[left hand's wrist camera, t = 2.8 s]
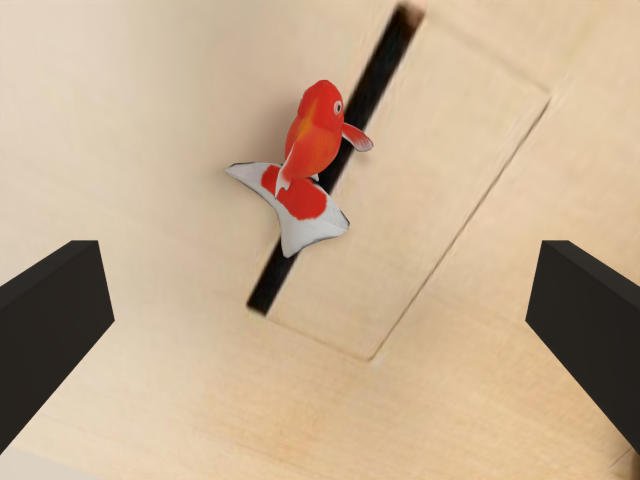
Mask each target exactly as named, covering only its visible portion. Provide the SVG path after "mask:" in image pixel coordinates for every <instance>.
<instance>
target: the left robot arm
mask: <svg viewBox="0 0 640 480" xmlns="http://www.w3.org/2000/svg"><path fill="white" fill-rule="evenodd" d="M114 321H115V319H114V315H113V310H112V305H111V301H110V296H109V291H108V286H107V282H106V277H105V272H104V268H103V263H102V258H101V253H100V249H99V244H98V240H72V241H70V242H69V243H67V244H66V245H64V246H62V247H61V248H59V249H58V250H56V251H55V252H53V253H52V254H50V255H49V256H47V257H45V258H44V259H42V260H41V261H39V262H38V263H36V264H35V265H33V266H32V267H30V268H28V269H27V270H25V271H24V272H22V273H21V274H19V275H18V276H16V277H15V278H13V279H11V280H10V281H8V282H7V283H5V284H4V285H2V286H1V287H0V455H1V454H2V452H3V451H4V450H5V449H6V448H7V447H8V445H9V444H10V443H11V442H12V441H13V440H14V438H15V437H16V436H17V435H18V434H19V432H20V431H21V430H22V429H23V428H24V427H25V425H26V424H27V423H28V422H29V421H30V420H31V418H32V417H33V416H34V415H35V414H36V413H37V411H38V410H39V409H40V408H41V407H42V405H43V404H44V403H45V402H46V401H47V400H48V398H49V397H50V396H51V395H52V394H53V393H54V391H55V390H56V389H57V388H58V387H59V386H60V384H61V383H62V382H63V381H64V380H65V379H66V377H67V376H68V375H69V374H70V373H71V371H72V370H73V369H74V368H75V367H76V366H77V364H78V363H79V362H80V361H81V360H82V359H83V357H84V356H85V355H86V354H87V353H88V352H89V350H90V349H91V348H92V347H93V346H94V345H95V343H96V342H97V341H98V340H99V339H100V337H101V336H102V335H103V334H104V333H105V332H106V330H107V329H108V328H109V327H110V326H111V325H112V323H113V322H114ZM525 321H526V322H527V323H528V325H529V326H530V327H531V328H532V329H533V330H534V332H535V333H536V334H537V335H538V336H539V337H540V339H541V340H542V341H543V342H544V343H545V345H546V346H547V347H548V348H549V349H550V350H551V352H552V353H553V354H554V355H555V356H556V357H557V359H558V360H559V361H560V362H561V363H562V364H563V366H564V367H565V368H566V369H567V370H568V371H569V373H570V374H571V375H572V376H573V377H574V379H575V380H576V381H577V382H578V383H579V384H580V386H581V387H582V388H583V389H584V390H585V391H586V393H587V394H588V395H589V396H590V397H591V398H592V400H593V401H594V402H595V403H596V404H597V405H598V407H599V408H600V409H601V410H602V411H603V413H604V414H605V415H606V416H607V417H608V418H609V420H610V421H611V422H612V423H613V424H614V425H615V427H616V428H617V429H618V430H619V431H620V432H621V434H622V435H623V436H624V437H625V438H626V440H627V441H628V442H629V443H630V444H631V445H632V447H633V448H634V449H635V450H636V451H637V452H638V454H639V455H640V287H639V286H638V285H636V284H635V283H633V282H632V281H630V280H629V279H627V278H625V277H624V276H622V275H621V274H619V273H618V272H616V271H615V270H613V269H612V268H610V267H608V266H607V265H605V264H604V263H602V262H601V261H599V260H598V259H596V258H595V257H593V256H591V255H590V254H588V253H587V252H585V251H584V250H582V249H581V248H579V247H578V246H576V245H574V244H573V243H571V242H570V241H568V240H542V244H541V249H540V253H539V258H538V263H537V268H536V272H535V277H534V282H533V286H532V291H531V296H530V301H529V305H528V310H527V315H526V319H525Z"/></svg>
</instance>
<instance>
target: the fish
mask: <svg viewBox="0 0 640 480" xmlns="http://www.w3.org/2000/svg"><path fill="white" fill-rule="evenodd" d="M343 121H344V116H343V100H342V97H341V94H340V93H339V91H338V90H337V88H336V87H335V86H334V85H333V84H332V83H331V82H329V81H328V80H320V81H318V82H317V83H316V84H314V85H313V86H311V87H310V88H308V89H307V90H305V92H304V94H303V99H301V101H300V105H299V108H298V115H297V117H296V119H295V120H294V122H293V124H292V126H291V128H290V130H289V132H288V136H287V139H286V146H285V159H286V162H285V163H284V164H276V163H265V162H254V163H237V164H233V165H232V166H230V167H228V168H227V169H225V170H224V171H225V172H226V173H228V174H229V175H231V176H232V177H234V178H235V179H237V180H238V181H240V182H241V183H243V184H244V185H246V186H247V187H249V188H251V189H252V190H254V191H255V192H256V193H257V194H259V195H260V196H261V197H263V198H264V199H265V200H266V201H267V202H268V203H269V204H270V205H271V206H272V207H273V208H274V209H275V210H276V211H277V215H278V219H279V223H280V228H281V243H282V250H283V254H284V256H285V257H287V258H289V257H291V256H292V255H294V254H295V253H296V252H298V251H300V250H301V249H303V248H305V247H307V246H309V245H311V244H314V243H316V242H319V241H322V240H325V239H330V238H335V237H338V236H339V235H341V234H343V233H344V232H346V231H347V230H348V228H349V224H350V223H349V221H348V220H347V218H346V217H345V216H344V214H343V213H342V211H341V210H340V209H339V207H338V206H337V205H336V203H335V202H334V201H333V200H332V199H331V198H330V196H329V195H328V194H327V193H326V192H325V191H324V190H323V189H322V188H321V187H320V186H319V184H318V183H317V182H316V181H318V180H319V179H318V174H317V173H319V172H321V171H322V170H324V169H325V168H326V167H327V166H328V165H329V164H330V163H331V162H332V161H333V159H334V158H335V157H336V155H337V153H338V150H339V147H340V143H341V139H342V137H343V138H345V139H346V140H348V141H349V142H350V143H351V144H352V145H353V146H354V148H355V149H356V150H357V151H360V152H365V151H368V150H371V149H372V147H373V143H372V141H371V140H370V139H369V138H368V137H367V136H366V135H365V134H364V133H363V132H362V131H361V130H359V129H357V128H356V127H354V126H352V125H349V124H347V123H344V122H343ZM309 177H312V178H313V179H312V178H309ZM314 179H315V180H316V181H315V180H314Z"/></svg>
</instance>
